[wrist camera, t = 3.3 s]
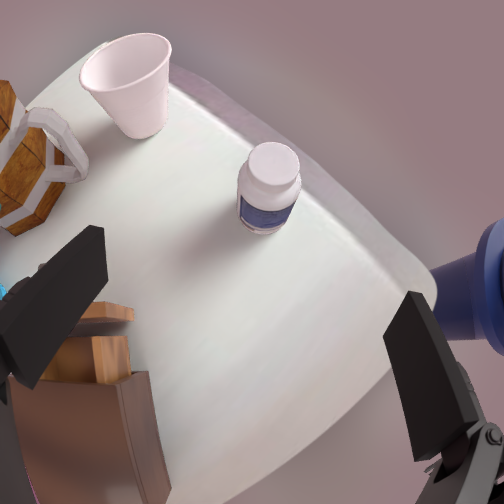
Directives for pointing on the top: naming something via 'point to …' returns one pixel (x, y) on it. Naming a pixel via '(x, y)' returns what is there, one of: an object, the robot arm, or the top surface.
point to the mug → (33, 162)
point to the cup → (131, 82)
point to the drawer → (93, 350)
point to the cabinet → (91, 441)
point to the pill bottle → (268, 187)
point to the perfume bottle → (2, 291)
